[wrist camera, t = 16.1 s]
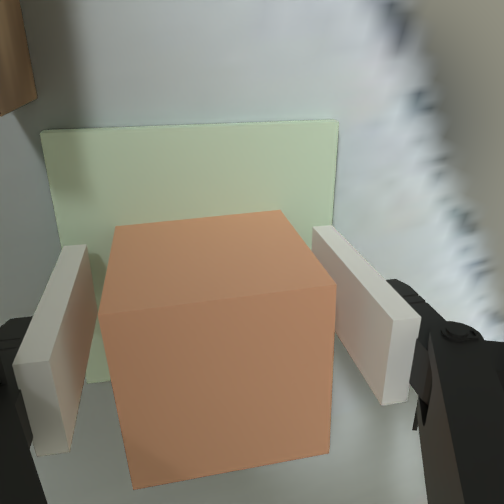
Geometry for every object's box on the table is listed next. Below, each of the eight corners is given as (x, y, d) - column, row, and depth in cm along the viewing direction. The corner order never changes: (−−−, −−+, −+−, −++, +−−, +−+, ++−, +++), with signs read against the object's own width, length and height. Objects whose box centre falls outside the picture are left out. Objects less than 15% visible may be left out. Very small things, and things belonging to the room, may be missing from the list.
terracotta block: (115, 226, 17) (97, 315, 11) (280, 209, 18) (336, 284, 12) (138, 363, 19) (133, 489, 14) (281, 342, 20) (329, 453, 15)
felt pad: (43, 130, 15) (39, 133, 15) (333, 119, 17) (339, 121, 17) (88, 374, 20) (87, 383, 19) (318, 346, 21) (322, 354, 21)
